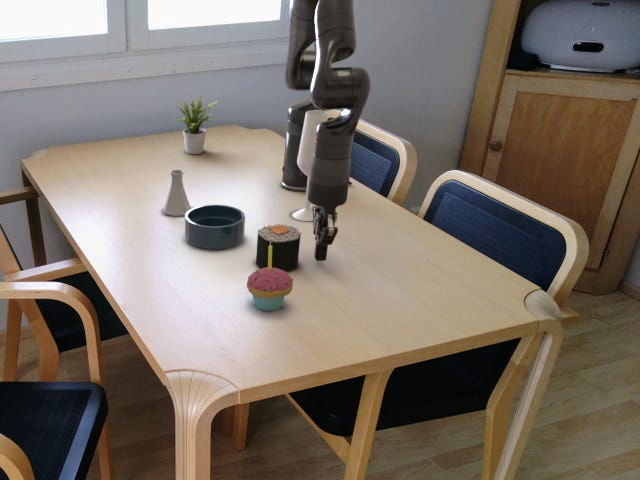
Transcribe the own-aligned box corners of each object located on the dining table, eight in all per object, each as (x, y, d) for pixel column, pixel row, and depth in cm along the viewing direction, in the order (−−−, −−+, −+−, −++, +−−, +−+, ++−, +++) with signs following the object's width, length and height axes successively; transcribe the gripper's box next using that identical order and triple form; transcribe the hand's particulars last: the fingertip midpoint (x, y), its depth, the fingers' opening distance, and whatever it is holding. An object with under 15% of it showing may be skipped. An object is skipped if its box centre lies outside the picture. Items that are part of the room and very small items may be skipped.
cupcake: (242, 295, 131) (244, 237, 124) (285, 292, 131) (290, 235, 125) (250, 317, 124) (254, 257, 117) (296, 314, 124) (302, 254, 117)
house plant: (220, 159, 200) (222, 102, 191) (173, 160, 201) (173, 103, 191) (217, 145, 212) (219, 90, 203) (173, 146, 212) (172, 91, 203)
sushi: (249, 260, 143) (251, 225, 139) (283, 253, 146) (286, 218, 141) (269, 276, 137) (271, 240, 133) (304, 268, 140) (308, 232, 135)
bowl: (240, 226, 159) (241, 203, 156) (246, 250, 148) (248, 226, 145) (184, 227, 159) (184, 205, 156) (186, 251, 148) (186, 228, 145)
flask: (189, 217, 164) (189, 177, 158) (160, 216, 165) (159, 175, 160) (194, 206, 170) (194, 167, 164) (165, 205, 171) (164, 166, 165)
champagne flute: (323, 212, 164) (335, 110, 151) (316, 222, 159) (328, 117, 146) (296, 209, 167) (305, 108, 153) (288, 218, 162) (297, 115, 148)
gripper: (357, 189, 126) (345, 273, 135) (341, 166, 137) (331, 245, 146) (317, 190, 126) (308, 274, 135) (303, 167, 137) (296, 246, 146)
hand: (320, 259), depth 141 cm, fingers closed
